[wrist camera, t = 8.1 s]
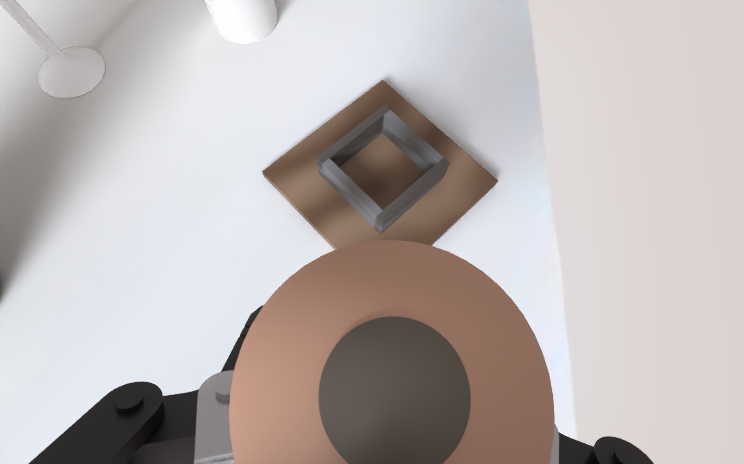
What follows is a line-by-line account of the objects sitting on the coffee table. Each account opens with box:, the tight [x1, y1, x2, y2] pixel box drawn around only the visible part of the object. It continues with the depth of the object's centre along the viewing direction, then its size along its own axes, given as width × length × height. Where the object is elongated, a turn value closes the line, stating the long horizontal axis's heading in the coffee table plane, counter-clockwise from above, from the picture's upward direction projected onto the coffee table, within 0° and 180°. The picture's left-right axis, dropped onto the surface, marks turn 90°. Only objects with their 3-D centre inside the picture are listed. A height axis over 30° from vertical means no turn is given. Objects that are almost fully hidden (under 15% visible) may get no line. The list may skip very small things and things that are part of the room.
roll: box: [229, 240, 555, 464], centre depth 12 cm, size 5×5×12 cm
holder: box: [262, 80, 498, 250], centre depth 38 cm, size 16×16×4 cm
